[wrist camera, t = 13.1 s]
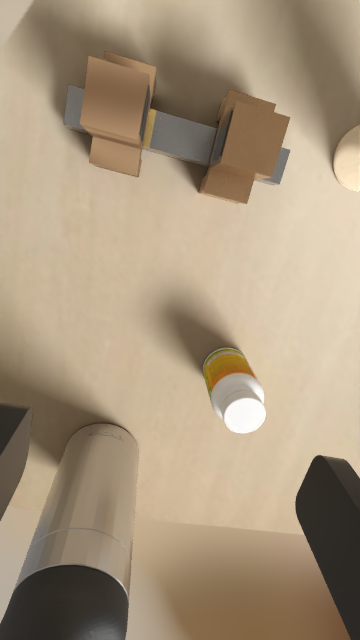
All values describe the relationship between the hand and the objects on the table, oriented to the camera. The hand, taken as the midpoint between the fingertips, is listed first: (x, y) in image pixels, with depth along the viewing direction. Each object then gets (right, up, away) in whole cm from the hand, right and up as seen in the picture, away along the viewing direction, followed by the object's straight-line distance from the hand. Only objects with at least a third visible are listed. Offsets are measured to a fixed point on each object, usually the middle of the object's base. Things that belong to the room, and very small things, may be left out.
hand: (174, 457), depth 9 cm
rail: (0, +21, +23) cm, 31 cm away
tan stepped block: (-5, +22, +22) cm, 31 cm away
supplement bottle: (+6, -2, +31) cm, 32 cm away
